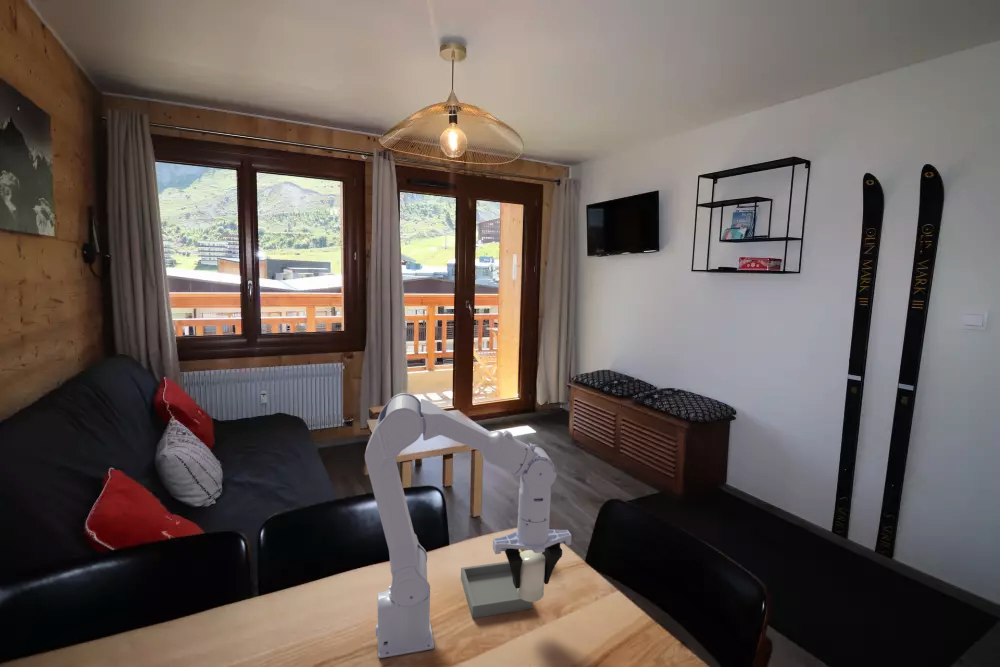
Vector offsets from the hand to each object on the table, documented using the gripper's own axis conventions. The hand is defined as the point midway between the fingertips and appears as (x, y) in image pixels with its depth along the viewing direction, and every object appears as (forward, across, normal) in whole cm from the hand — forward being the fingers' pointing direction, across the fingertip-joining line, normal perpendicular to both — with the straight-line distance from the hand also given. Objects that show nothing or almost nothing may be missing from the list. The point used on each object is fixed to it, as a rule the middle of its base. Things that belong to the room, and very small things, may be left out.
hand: (530, 582), depth 91 cm
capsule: (+2, 0, 0) cm, 2 cm away
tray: (+9, -4, +10) cm, 14 cm away
